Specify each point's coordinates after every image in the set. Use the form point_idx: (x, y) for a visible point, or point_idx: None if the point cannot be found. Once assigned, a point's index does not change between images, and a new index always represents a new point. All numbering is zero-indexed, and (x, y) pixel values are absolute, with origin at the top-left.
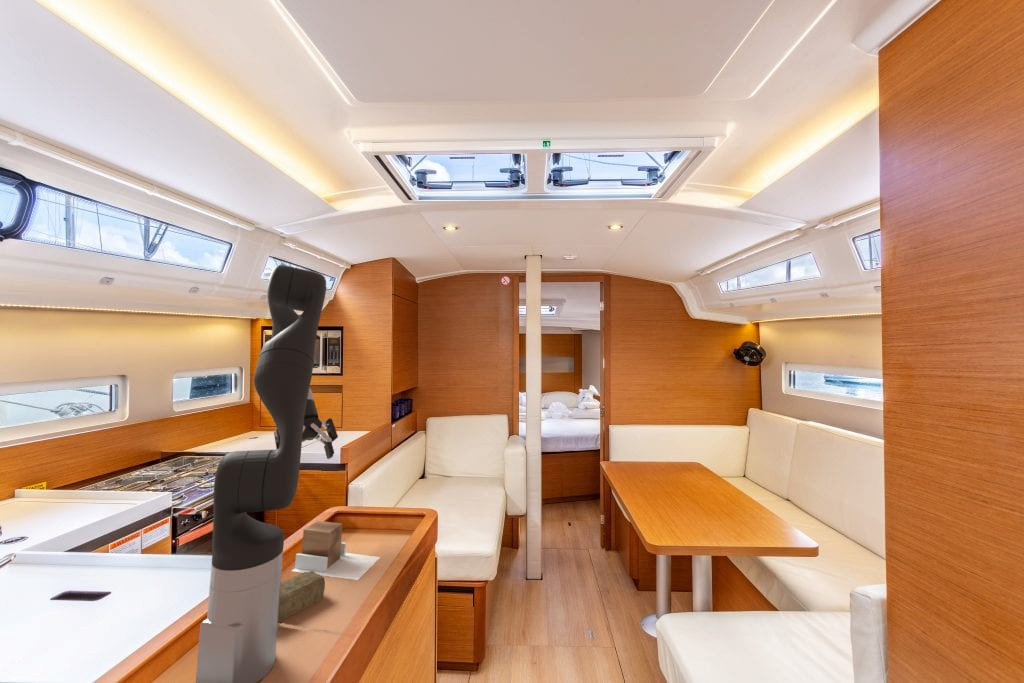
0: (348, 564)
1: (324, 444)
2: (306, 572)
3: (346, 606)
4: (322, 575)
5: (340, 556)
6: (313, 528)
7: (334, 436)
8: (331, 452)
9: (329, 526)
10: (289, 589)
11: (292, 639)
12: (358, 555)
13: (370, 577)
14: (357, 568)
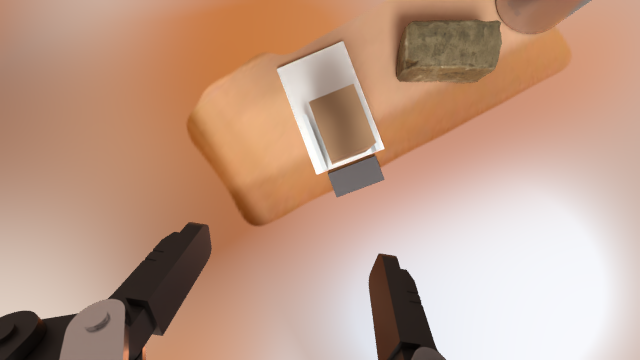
0: (321, 91)
1: (145, 348)
2: (413, 65)
3: (388, 7)
4: (364, 97)
5: (312, 125)
6: (360, 130)
7: (12, 338)
8: (183, 234)
9: (334, 111)
10: (464, 30)
11: (468, 3)
12: (293, 103)
13: (321, 40)
14: (321, 69)
